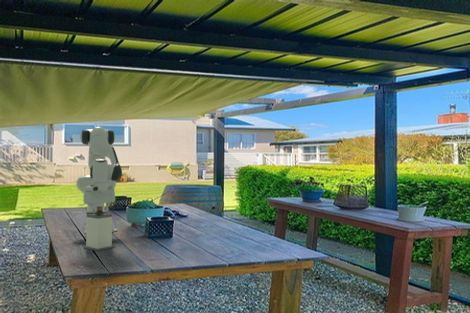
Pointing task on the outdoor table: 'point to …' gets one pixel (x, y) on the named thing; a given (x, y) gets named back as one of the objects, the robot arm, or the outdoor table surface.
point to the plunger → (99, 210)
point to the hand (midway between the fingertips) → (99, 211)
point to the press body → (99, 232)
